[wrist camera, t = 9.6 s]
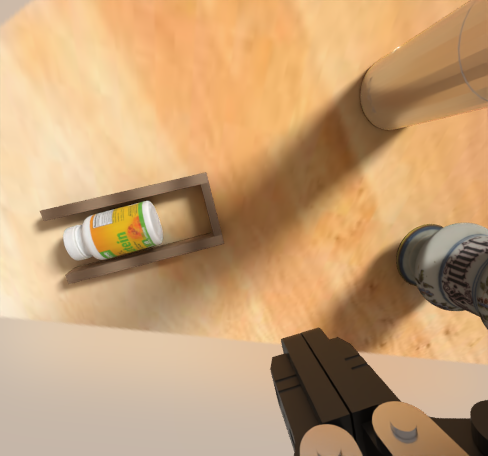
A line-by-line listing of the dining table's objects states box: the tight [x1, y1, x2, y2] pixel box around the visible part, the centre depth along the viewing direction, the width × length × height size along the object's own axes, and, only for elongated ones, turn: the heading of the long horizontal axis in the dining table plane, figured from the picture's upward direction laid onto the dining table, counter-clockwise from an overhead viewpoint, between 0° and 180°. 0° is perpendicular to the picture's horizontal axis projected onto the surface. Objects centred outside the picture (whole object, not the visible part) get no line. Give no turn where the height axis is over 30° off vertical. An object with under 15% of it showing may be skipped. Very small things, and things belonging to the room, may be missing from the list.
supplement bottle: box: [63, 201, 163, 260], centre depth 32 cm, size 5×5×10 cm
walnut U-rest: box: [40, 173, 224, 284], centre depth 33 cm, size 19×9×3 cm, turn 103°
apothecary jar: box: [397, 223, 488, 329], centre depth 33 cm, size 12×12×18 cm
